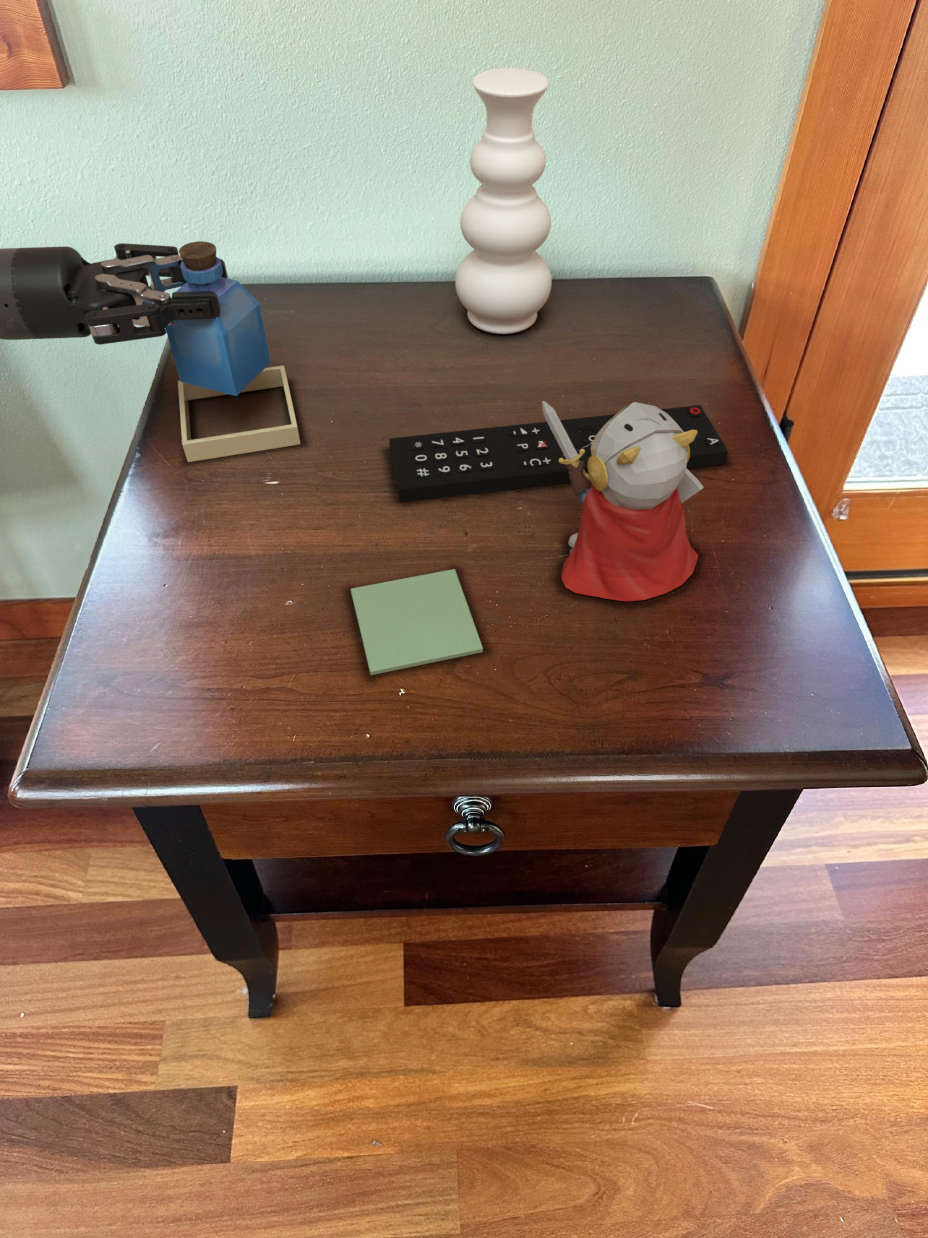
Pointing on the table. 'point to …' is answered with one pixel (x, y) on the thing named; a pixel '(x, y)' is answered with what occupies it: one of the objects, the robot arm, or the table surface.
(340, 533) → the table surface
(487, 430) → the remote control
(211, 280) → the perfume bottle
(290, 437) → the holder
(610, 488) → the figurine
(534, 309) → the vase
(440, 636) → the mat
